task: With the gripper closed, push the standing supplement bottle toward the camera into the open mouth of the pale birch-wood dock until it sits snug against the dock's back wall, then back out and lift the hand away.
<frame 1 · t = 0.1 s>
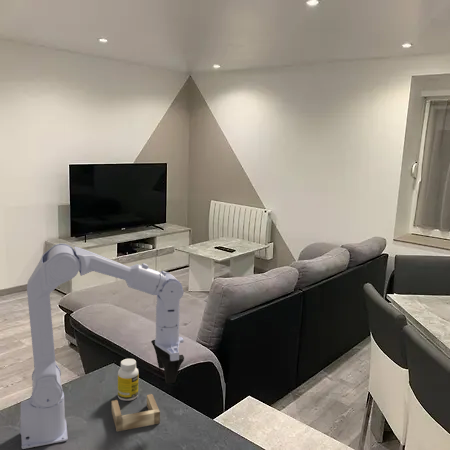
hand: (166, 374, 113), 10 cm above the table, tool pointing down, fingers open, 7 cm apart
supplement bottle: (128, 396, 121), on the table
dock: (134, 415, 112), on the table
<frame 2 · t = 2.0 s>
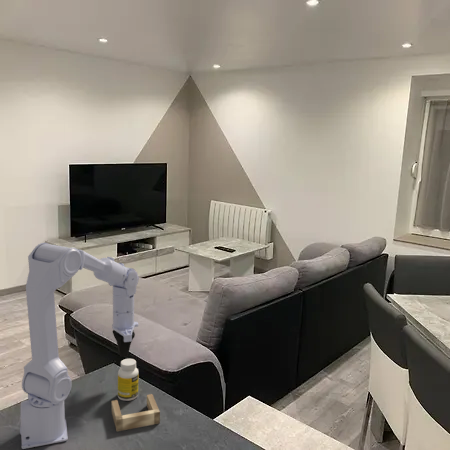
hand: (123, 355, 127), 8 cm above the table, tool pointing down, fingers closed
nothing on the table moved.
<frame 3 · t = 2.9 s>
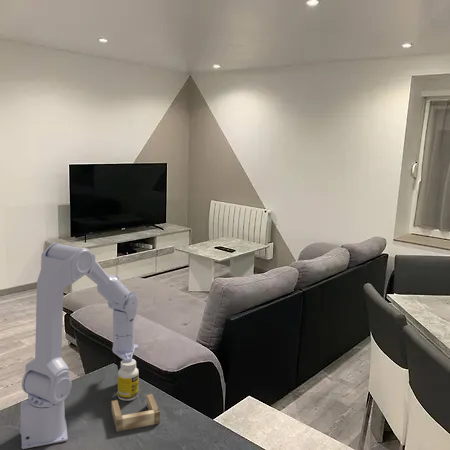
hand: (123, 377, 127), 1 cm above the table, tool pointing down, fingers closed
nothing on the table moved.
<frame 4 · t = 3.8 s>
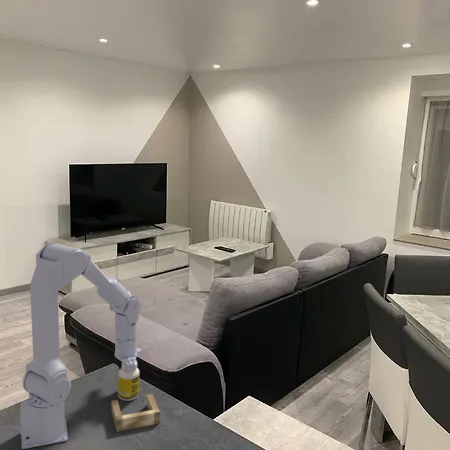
hand: (126, 382, 125), 2 cm above the table, tool pointing down, fingers closed, pressing on supplement bottle
supplement bottle: (128, 395, 121), on the table, touching gripper
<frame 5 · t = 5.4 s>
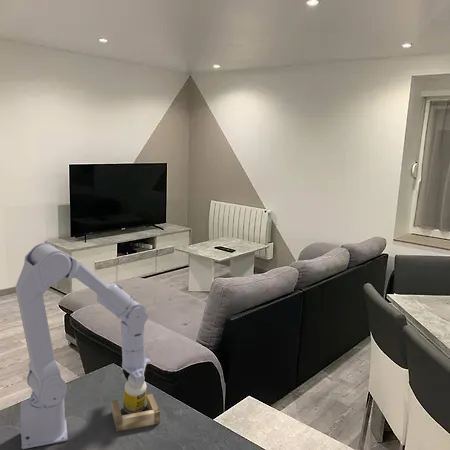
hand: (135, 394, 118), 2 cm above the table, tool pointing down, fingers closed, pressing on supplement bottle
supplement bottle: (134, 406, 115), point 1 cm above the table, touching gripper
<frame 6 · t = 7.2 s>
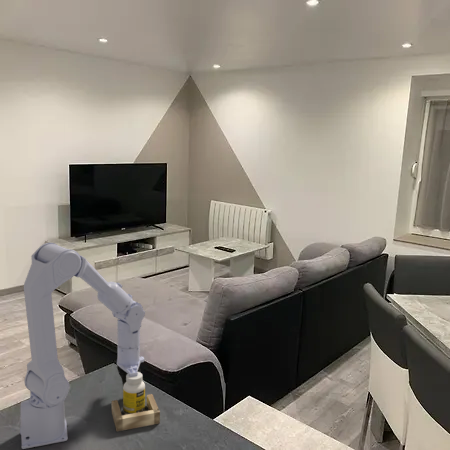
hand: (128, 392, 120), 1 cm above the table, tool pointing down, fingers closed
supplement bottle: (134, 411, 114), on the table
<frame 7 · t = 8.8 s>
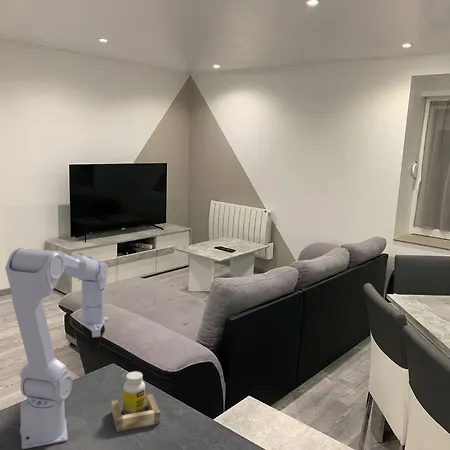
hand: (93, 351, 123), 10 cm above the table, tool pointing down, fingers closed
nothing on the table moved.
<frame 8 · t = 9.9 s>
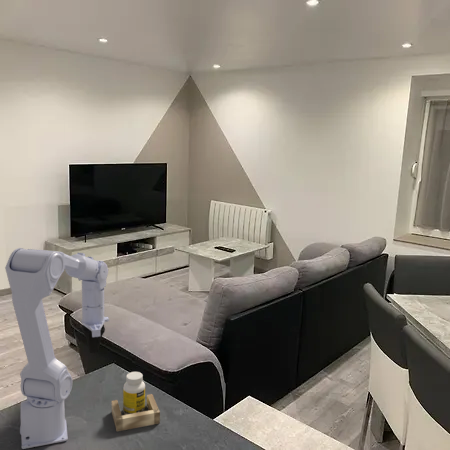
hand: (93, 351, 123), 10 cm above the table, tool pointing down, fingers closed
nothing on the table moved.
at the end: supplement bottle 2.0 cm from the dock (horizontally); supplement bottle tilted 0°; supplement bottle moved 7.5 cm from its start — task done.
